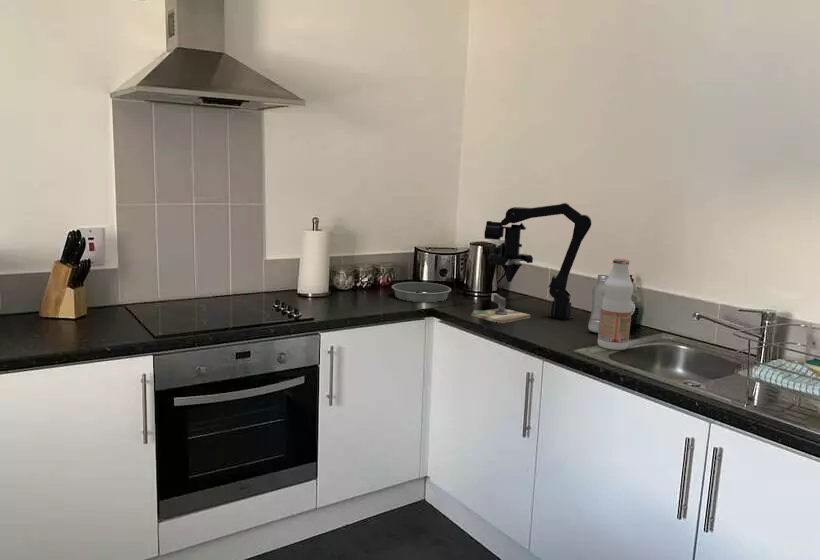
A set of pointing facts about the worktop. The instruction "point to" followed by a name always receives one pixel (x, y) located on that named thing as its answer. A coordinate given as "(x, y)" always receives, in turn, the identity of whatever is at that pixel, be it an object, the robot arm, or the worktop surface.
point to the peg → (499, 301)
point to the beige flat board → (500, 315)
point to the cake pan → (410, 288)
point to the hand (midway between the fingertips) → (509, 281)
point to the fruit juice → (616, 308)
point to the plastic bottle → (597, 303)
